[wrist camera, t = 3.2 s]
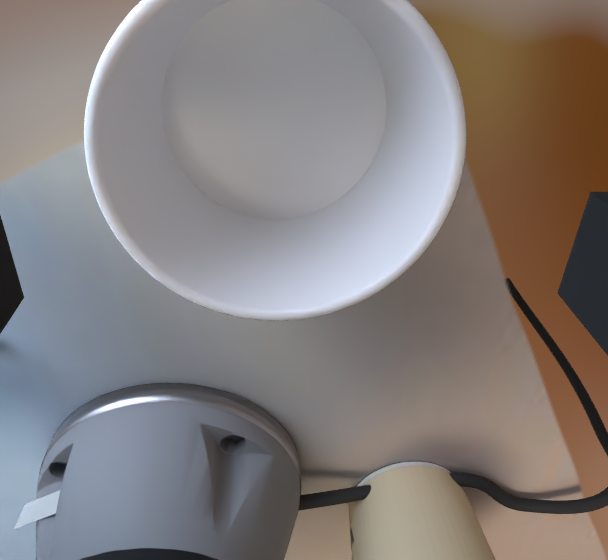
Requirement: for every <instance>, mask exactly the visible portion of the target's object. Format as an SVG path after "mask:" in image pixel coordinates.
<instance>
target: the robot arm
mask: <svg viewBox="0 0 608 560" xmlns="http://www.w3.org/2000/svg"><path fill="white" fill-rule="evenodd" d="M505 281H506V285H507V288H508V290H509V293H510V294H511V296H512V297H513V298H514V300H515V302H516V303H517V304H518V306H519V307H520V309H521V310H522V312H523V313H524V314H525V316H526V317H527V319H528V320H529V321H530V323H531V324H532V326H533V327H534V328H535V330H536V331H537V333H538V334H539V336H540V337H541V338H542V340H543V341H544V342H545V344H546V345H547V347H548V348H549V349H550V351H551V353H552V354H553V356H554V357H555V359H556V360H557V362H558V363H559V365H560V367H561V368H562V370H563V371H564V373H565V375H566V376H567V378H568V380H569V381H570V383H571V385H572V387H573V389H574V390H575V392H576V394H577V396H578V398H579V399H580V402H581V404H582V405H583V407H584V410H585V412H586V414H587V416H588V418H589V420H590V423H591V425H592V427H593V429H594V431H595V433H596V436H597V438H598V440H599V442H600V443H601V445H602V447H603V449H604V451H605V452H606V454H607V456H608V432H607V430H606V428H605V426H604V424H603V422H602V420H601V417H600V415H599V413H598V411H597V409H596V408H595V405H594V404H593V402H592V400H591V398H590V396H589V394H588V392H587V391H586V389H585V387H584V386H583V384H582V382H581V380H580V379H579V377H578V375H577V374H576V372H575V371H574V369H573V368H572V367H571V365H570V363H569V362H568V360H567V359H566V357H565V356H564V354H563V353H562V351H561V350H560V349H559V347H558V346H557V344H556V343H555V341H554V340H553V339H552V337H551V336H550V334H549V333H548V332H547V330H546V329H545V328H544V326H543V325H542V324H541V322H540V321H539V319H538V318H537V317H536V316H535V314H534V313H533V311H532V310H531V309H530V307H529V306H528V305H527V303H526V302H525V300H524V299H523V298H522V296H521V295H520V293H519V292H518V290H517V289H516V288H515V286H514V284H513V283H512V281H511V280H510V279H509V278H506V279H505ZM558 294H559V296H560V297H561V298H562V299H563V300H564V301H565V303H566V304H567V305H568V307H569V308H570V309H571V310H572V312H573V313H574V314H575V315H576V317H577V318H578V319H579V320H580V321H581V323H582V324H583V325H584V327H585V328H586V329H587V330H588V332H589V333H590V334H591V335H592V337H593V338H594V339H595V340H596V341H597V343H598V344H599V345H600V346H601V348H602V349H603V350H604V351H605V353H606V354H607V355H608V192H590V195H589V198H588V201H587V204H586V207H585V210H584V214H583V217H582V220H581V223H580V226H579V229H578V232H577V235H576V238H575V241H574V244H573V247H572V250H571V254H570V256H569V260H568V263H567V265H566V269H565V272H564V275H563V278H562V281H561V284H560V287H559V290H558ZM23 298H24V296H23V292H22V289H21V285H20V282H19V278H18V275H17V272H16V268H15V265H14V261H13V258H12V254H11V251H10V247H9V244H8V240H7V237H6V233H5V230H4V226H3V223H2V219H1V216H0V333H1V332H2V330H3V329H4V327H5V326H6V324H7V323H8V321H9V320H10V318H11V317H12V315H13V314H14V312H15V311H16V309H17V307H18V306H19V304H20V303H21V301H22V300H23ZM449 474H450V476H451V477H452V479H453V480H454V481H455V482H456V483H457V484H458V485H459V486H465V487H472V488H476V489H479V490H481V491H483V492H485V493H487V494H488V495H489V496H491V497H492V498H493V499H494V500H496V501H497V502H499V503H500V504H502V505H503V506H506V507H508V508H511V509H514V510H518V511H526V512H537V513H551V514H574V513H584V512H589V511H594V510H597V509H600V508H603V507H605V506H607V505H608V487H607V488H606V489H605V490H604V491H602V492H600V493H599V494H597V495H594V496H592V497H588V498H584V499H579V500H567V501H551V500H536V499H525V498H517V497H514V496H511V495H509V494H508V493H506V492H505V491H503V490H502V489H501V488H500V487H498V486H497V485H496V484H495V483H493V482H492V481H490V480H488V479H486V478H484V477H481V476H478V475H473V474H467V473H449ZM370 491H371V485H363V486H357V487H352V488H346V489H339V490H333V491H326V492H320V493H313V494H306V495H301V476H300V464H299V457H298V454H297V451H296V448H295V446H294V444H293V441H292V440H291V438H290V437H289V435H288V433H287V432H286V431H285V430H284V428H283V427H282V426H281V425H280V424H279V423H278V422H277V421H276V420H275V419H274V418H273V417H272V416H270V415H269V414H268V413H267V412H265V411H264V410H262V409H261V408H259V407H258V406H256V405H254V404H252V403H251V402H249V401H247V400H245V399H242V398H240V397H238V396H235V395H233V394H230V393H227V392H224V391H221V390H217V389H213V388H209V387H204V386H199V385H192V384H182V383H155V384H145V385H138V386H132V387H127V388H123V389H120V390H116V391H113V392H110V393H107V394H105V395H102V396H100V397H98V398H96V399H94V400H92V401H90V402H88V403H86V404H85V405H83V406H81V407H80V408H79V409H77V410H76V411H75V412H73V413H72V414H71V415H70V416H69V417H68V418H67V419H66V420H65V421H64V422H63V423H62V424H61V426H60V427H59V428H58V430H57V431H56V433H55V434H54V436H53V438H52V441H51V443H50V445H49V448H48V450H47V453H46V455H45V457H44V460H43V462H42V465H41V469H40V474H39V479H38V485H37V500H34V501H32V502H29V503H26V504H24V506H23V509H22V511H21V513H20V516H19V518H18V521H17V523H16V525H15V528H14V529H17V528H19V527H22V526H24V525H27V524H29V523H32V522H35V521H36V560H284V558H285V554H286V551H287V548H288V544H289V541H290V537H291V534H292V531H293V527H294V524H295V521H296V517H297V514H298V510H304V509H311V508H317V507H323V506H330V505H336V504H342V503H348V502H354V501H359V500H364V499H365V498H366V497H367V496H368V495H369V493H370Z"/></svg>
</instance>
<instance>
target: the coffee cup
mask: <svg viewBox="0 0 608 560" xmlns="http://www.w3.org/2000/svg"><path fill="white" fill-rule="evenodd" d="M449 473H452V472H450V471H449V470H447V469H446V468H444V467H441V466H439V465H436V464H433V463H428V462H420V461H412V462H402V463H397V464H392V465H389V466H386V467H384V468H381V469H379V470H377V471H375V472H373V473H371V474H370V475H368V476H367V477H365V478H364V479H363V480H362V481H361V482H360V483H359V484H358V485H357V486H363V485H371V491H370V493H369V495H368V496H367V497H366V498H365V499H364V500H359V501H354V502H349V520H350V536H351V549H352V560H496V559H495V557H494V555H493V553H492V551H491V548H490V546H489V544H488V542H487V540H486V537H485V535H484V533H483V531H482V529H481V526H480V524H479V522H478V520H477V518H476V515H475V513H474V511H473V509H472V507H471V504H470V502H469V500H468V498H467V496H466V494H465V492H464V490H463V488H462V486H459V485H458V484H457V483H456V482H455V481H454V480H453V479H452V477H451V476H450V474H449ZM357 486H356V487H357Z"/></svg>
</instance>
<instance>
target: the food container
mask: <svg viewBox="0 0 608 560" xmlns="http://www.w3.org/2000/svg"><path fill="white" fill-rule="evenodd" d="M84 144H85V156H86V162H87V168H88V173H89V178H90V181H91V184H92V188H93V191H94V194H95V197H96V199H97V202H98V204H99V207H100V209H101V211H102V213H103V215H104V217H105V219H106V221H107V223H108V225H109V227H110V228H111V230H112V231H113V233H114V234H115V236H116V237H117V239H118V240H119V242H120V243H121V244H122V246H123V247H124V248H125V249H126V251H127V252H128V253H129V254H130V255H131V256H132V258H133V259H134V260H135V261H136V262H137V263H138V264H139V265H140V266H141V267H142V268H143V269H144V270H145V271H147V272H148V273H149V274H150V275H151V276H152V277H153V278H155V279H156V280H157V281H159V282H160V283H161V284H163V285H164V286H165V287H167V288H168V289H170V290H172V291H173V292H175V293H177V294H178V295H180V296H182V297H184V298H186V299H188V300H190V301H192V302H193V303H196V304H198V305H201V306H203V307H205V308H208V309H210V310H214V311H217V312H220V313H223V314H227V315H231V316H236V317H240V318H247V319H254V320H268V321H288V320H296V319H305V318H311V317H316V316H321V315H325V314H328V313H332V312H335V311H338V310H341V309H344V308H347V307H349V306H351V305H354V304H356V303H358V302H360V301H363V300H364V299H366V298H368V297H370V296H372V295H374V294H375V293H377V292H379V291H380V290H382V289H383V288H385V287H386V286H388V285H389V284H390V283H392V282H393V281H394V280H396V279H397V278H398V277H399V276H401V275H402V274H403V273H404V272H405V271H406V270H407V269H408V268H409V267H410V266H411V265H413V264H414V263H415V261H416V260H417V259H418V258H419V257H420V256H421V255H422V254H423V252H424V251H425V250H426V249H427V247H428V246H429V245H430V243H431V242H432V241H433V239H434V238H435V236H436V235H437V233H438V232H439V230H440V228H441V227H442V225H443V223H444V221H445V219H446V217H447V215H448V213H449V211H450V209H451V207H452V204H453V202H454V199H455V197H456V194H457V191H458V187H459V184H460V180H461V177H462V172H463V166H464V160H465V151H466V119H465V111H464V103H463V98H462V94H461V90H460V85H459V82H458V79H457V76H456V73H455V71H454V68H453V65H452V63H451V61H450V59H449V57H448V54H447V52H446V50H445V48H444V46H443V45H442V43H441V42H440V40H439V38H438V37H437V35H436V33H435V32H434V30H433V29H432V28H431V26H430V25H429V24H428V22H427V21H426V20H425V18H424V17H423V16H422V15H421V14H420V13H419V11H417V9H416V8H415V7H414V6H413V5H412V4H411V3H410V2H409V1H408V0H142V1H140V3H139V4H137V5H136V6H135V7H134V8H133V9H132V10H131V12H130V13H129V14H128V15H127V17H126V18H125V19H124V20H123V22H122V23H121V24H120V25H119V27H118V28H117V30H116V31H115V33H114V34H113V36H112V37H111V39H110V41H109V42H108V44H107V46H106V48H105V50H104V52H103V54H102V56H101V58H100V60H99V62H98V65H97V67H96V70H95V73H94V76H93V79H92V82H91V86H90V90H89V94H88V99H87V104H86V113H85V120H84Z"/></svg>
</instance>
